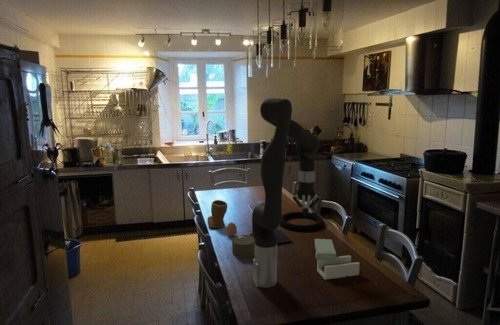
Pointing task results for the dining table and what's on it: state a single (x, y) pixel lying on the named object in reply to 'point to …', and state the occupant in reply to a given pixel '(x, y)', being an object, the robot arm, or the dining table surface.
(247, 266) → the dining table surface
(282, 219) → the cable lock
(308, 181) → the robot arm
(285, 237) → the dining table surface
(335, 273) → the curved white channel
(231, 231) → the egg
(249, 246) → the can
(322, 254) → the cover
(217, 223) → the brown boot
